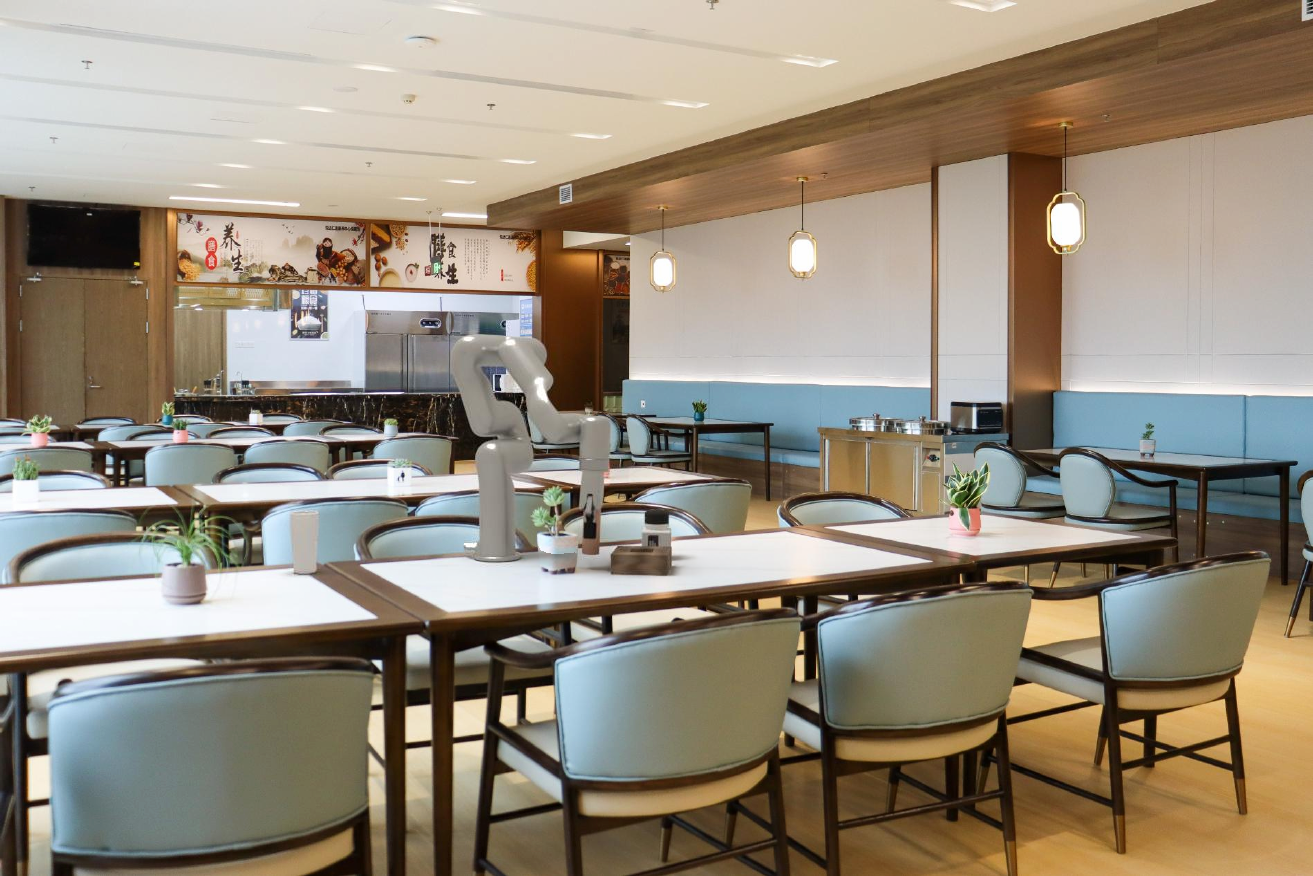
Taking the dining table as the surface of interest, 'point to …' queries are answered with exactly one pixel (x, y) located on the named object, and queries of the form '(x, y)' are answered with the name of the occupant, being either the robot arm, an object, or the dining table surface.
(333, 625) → the dining table surface
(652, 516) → the container
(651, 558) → the socket block
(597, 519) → the peg
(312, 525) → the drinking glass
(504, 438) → the robot arm
